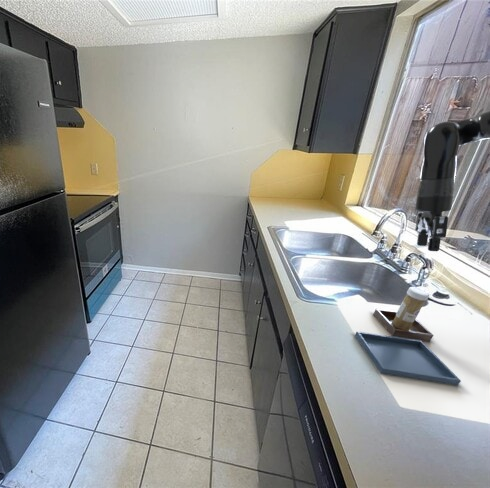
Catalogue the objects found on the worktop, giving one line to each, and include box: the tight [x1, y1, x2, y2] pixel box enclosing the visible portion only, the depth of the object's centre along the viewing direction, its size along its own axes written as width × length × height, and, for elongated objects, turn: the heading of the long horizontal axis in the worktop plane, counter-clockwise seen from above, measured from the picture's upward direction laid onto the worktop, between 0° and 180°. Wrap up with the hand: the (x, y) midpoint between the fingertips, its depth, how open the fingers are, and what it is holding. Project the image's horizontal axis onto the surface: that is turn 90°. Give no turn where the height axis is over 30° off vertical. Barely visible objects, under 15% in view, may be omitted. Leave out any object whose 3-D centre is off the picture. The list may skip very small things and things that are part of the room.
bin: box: [372, 308, 434, 343], centre depth 81 cm, size 10×10×3 cm
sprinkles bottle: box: [392, 286, 430, 331], centre depth 78 cm, size 5×5×13 cm
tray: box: [354, 331, 462, 386], centre depth 70 cm, size 17×13×2 cm
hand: (427, 248), depth 79 cm, fingers open, 8 cm apart
